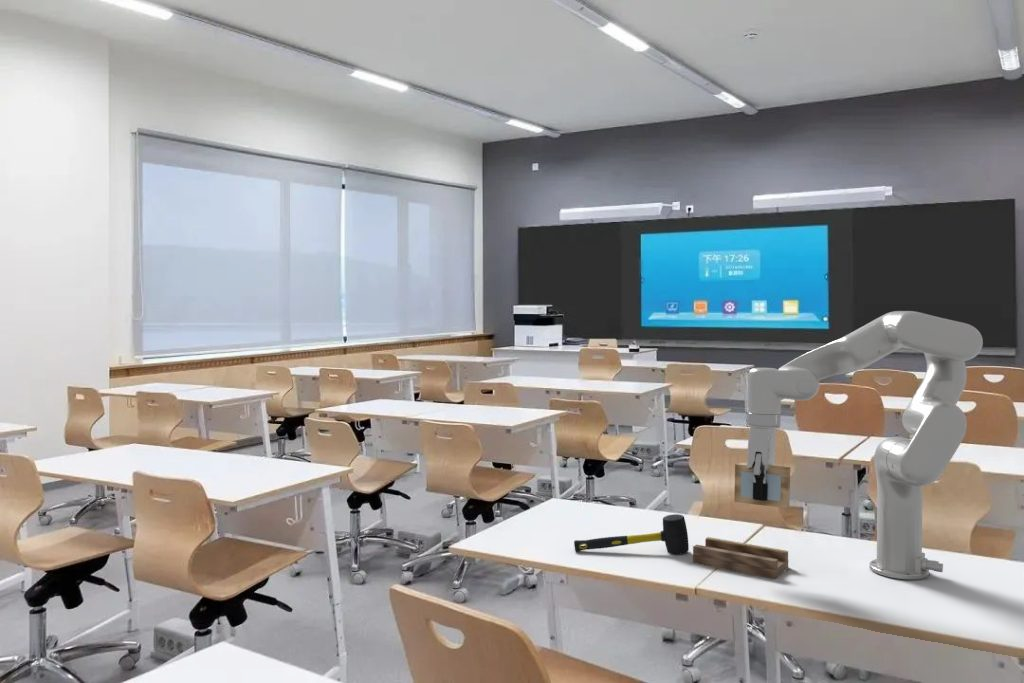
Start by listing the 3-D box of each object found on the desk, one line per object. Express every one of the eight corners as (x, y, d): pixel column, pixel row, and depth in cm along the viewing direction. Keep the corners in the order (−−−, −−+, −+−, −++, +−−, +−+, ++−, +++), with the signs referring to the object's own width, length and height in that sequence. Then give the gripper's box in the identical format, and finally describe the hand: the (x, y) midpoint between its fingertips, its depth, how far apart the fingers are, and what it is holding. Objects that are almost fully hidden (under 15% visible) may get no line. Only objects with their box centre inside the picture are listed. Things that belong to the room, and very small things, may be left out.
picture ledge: (788, 567, 189) (788, 550, 188) (774, 578, 181) (774, 560, 180) (708, 552, 200) (708, 536, 200) (692, 562, 192) (692, 545, 192)
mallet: (574, 555, 199) (574, 518, 199) (573, 548, 205) (573, 512, 205) (690, 556, 198) (690, 518, 198) (686, 549, 204) (686, 512, 204)
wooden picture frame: (789, 505, 183) (790, 467, 183) (787, 508, 181) (788, 469, 180) (737, 499, 189) (738, 462, 189) (734, 502, 186) (734, 464, 186)
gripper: (754, 415, 193) (752, 489, 194) (739, 423, 179) (737, 503, 179) (786, 417, 190) (784, 493, 190) (773, 426, 175) (771, 507, 176)
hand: (761, 497), depth 185 cm, fingers closed on wooden picture frame, 3 cm apart
